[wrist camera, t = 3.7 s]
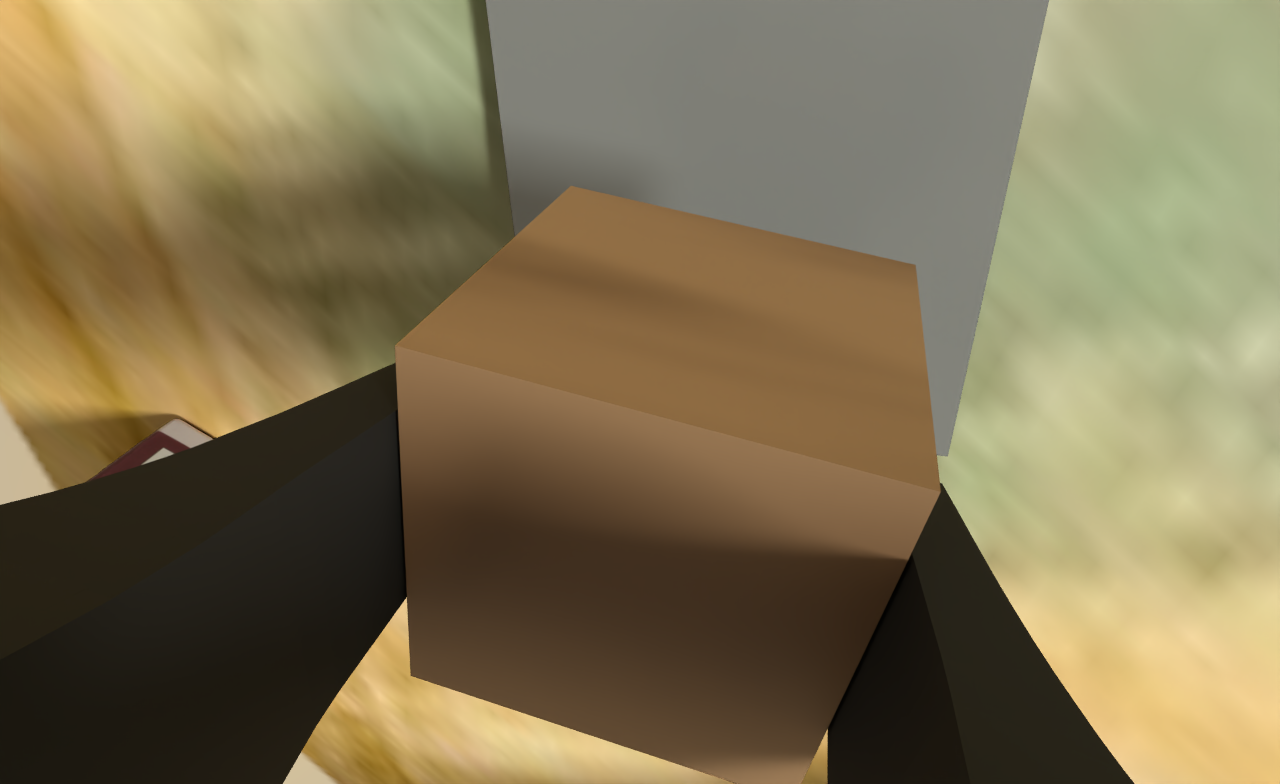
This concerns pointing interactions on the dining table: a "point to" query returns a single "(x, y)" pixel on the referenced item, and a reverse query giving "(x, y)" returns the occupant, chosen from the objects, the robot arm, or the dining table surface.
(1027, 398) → the dining table surface
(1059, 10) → the dining table surface
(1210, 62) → the dining table surface
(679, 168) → the slate coaster
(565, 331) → the walnut cube
